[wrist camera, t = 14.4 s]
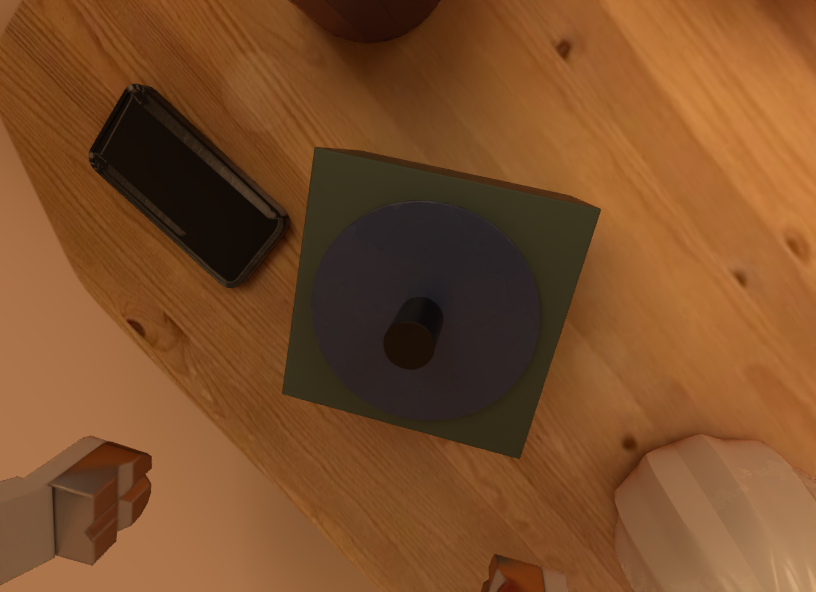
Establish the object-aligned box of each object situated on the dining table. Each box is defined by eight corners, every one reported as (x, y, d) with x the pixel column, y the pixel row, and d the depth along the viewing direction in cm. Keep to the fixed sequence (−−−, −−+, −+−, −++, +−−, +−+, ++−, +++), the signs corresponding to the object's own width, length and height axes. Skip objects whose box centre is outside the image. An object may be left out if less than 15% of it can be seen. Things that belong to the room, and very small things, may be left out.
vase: (737, 587, 38) (861, 802, 25) (572, 523, 39) (612, 699, 26) (838, 452, 34) (1050, 630, 21) (650, 383, 34) (744, 514, 22)
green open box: (329, 340, 38) (281, 394, 29) (360, 150, 33) (314, 146, 25) (512, 388, 36) (519, 459, 28) (571, 195, 32) (601, 208, 23)
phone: (132, 76, 33) (289, 222, 34) (143, 79, 34) (295, 220, 35) (82, 161, 36) (230, 295, 37) (94, 161, 37) (238, 291, 38)
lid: (304, 381, 29) (266, 425, 24) (334, 176, 25) (297, 179, 20) (504, 434, 27) (507, 493, 23) (568, 228, 24) (588, 245, 19)
